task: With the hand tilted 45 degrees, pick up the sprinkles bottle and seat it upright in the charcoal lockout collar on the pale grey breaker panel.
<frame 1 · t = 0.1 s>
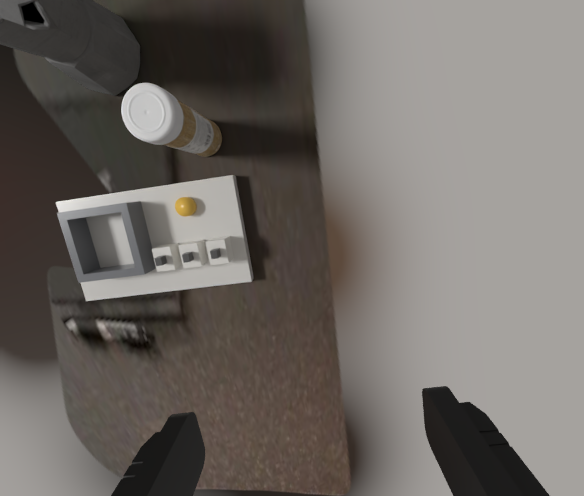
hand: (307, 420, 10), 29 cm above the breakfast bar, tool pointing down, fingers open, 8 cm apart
sprinkles bottle: (206, 139, 36), on the breakfast bar
coffeepot: (99, 50, 35), on the breakfast bar
breaker panel: (160, 240, 39), on the breakfast bar
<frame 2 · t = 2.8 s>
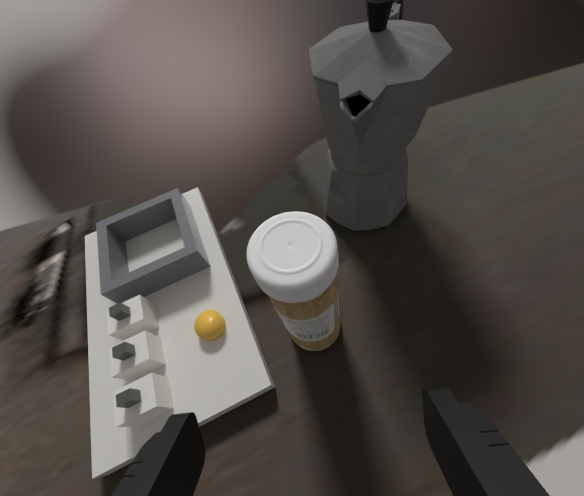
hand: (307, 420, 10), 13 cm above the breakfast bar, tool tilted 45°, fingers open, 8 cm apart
sprinkles bottle: (314, 326, 25), on the breakfast bar
coffeepot: (364, 193, 32), on the breakfast bar
breaker panel: (166, 300, 29), on the breakfast bar
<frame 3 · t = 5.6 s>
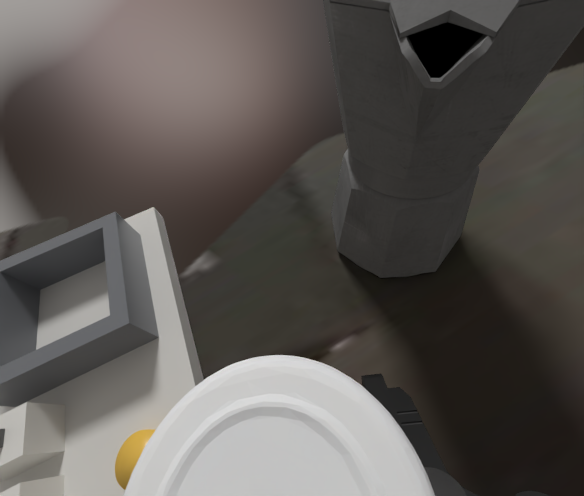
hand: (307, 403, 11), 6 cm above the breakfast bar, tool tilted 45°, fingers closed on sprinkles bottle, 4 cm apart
sprinkles bottle: (323, 452, 15), on the breakfast bar, touching gripper
coffeepot: (393, 216, 22), on the breakfast bar
breaker panel: (92, 389, 18), on the breakfast bar
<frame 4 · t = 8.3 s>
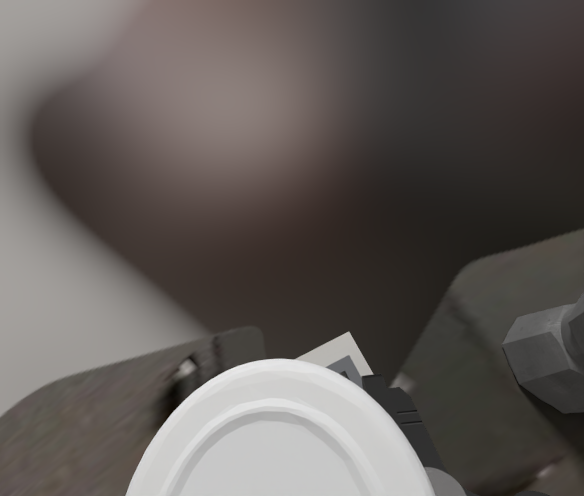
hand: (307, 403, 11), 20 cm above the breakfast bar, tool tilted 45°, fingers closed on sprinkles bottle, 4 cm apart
sprinkles bottle: (323, 453, 15), point 14 cm above the breakfast bar, touching gripper
coffeepot: (554, 349, 28), on the breakfast bar
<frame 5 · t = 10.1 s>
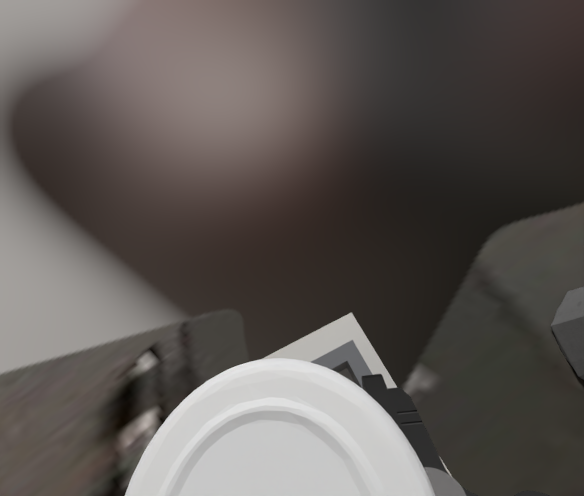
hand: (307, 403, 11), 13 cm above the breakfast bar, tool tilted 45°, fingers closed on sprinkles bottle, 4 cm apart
sprinkles bottle: (323, 453, 15), point 6 cm above the breakfast bar, touching gripper
when the fingers open (9 cm above the breakfast bar, at t = 11.4 s): sprinkles bottle drops 1 cm, resting on breaker panel.
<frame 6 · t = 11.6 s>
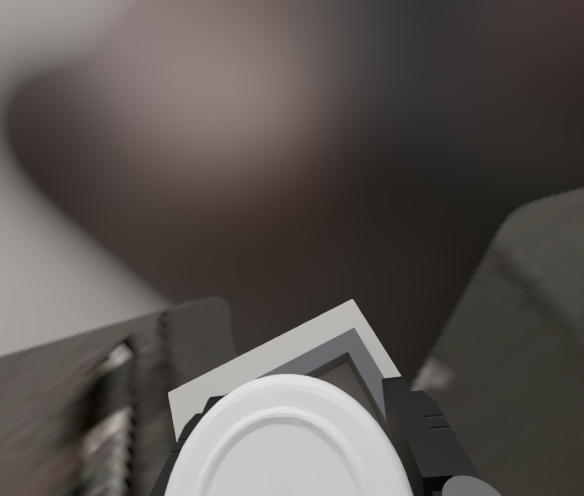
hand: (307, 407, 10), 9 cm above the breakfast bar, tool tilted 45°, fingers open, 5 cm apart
sprinkles bottle: (323, 456, 16), point 1 cm above the breakfast bar, touching breaker panel
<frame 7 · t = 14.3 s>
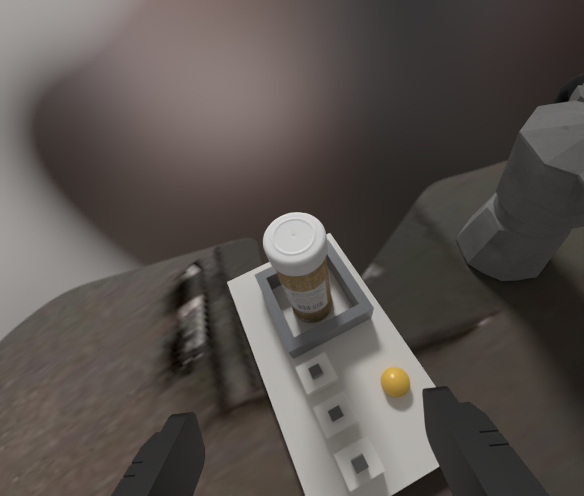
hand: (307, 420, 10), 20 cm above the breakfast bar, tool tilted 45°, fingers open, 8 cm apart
sprinkles bottle: (311, 304, 31), point 1 cm above the breakfast bar, touching breaker panel
coffeepot: (498, 240, 34), on the breakfast bar
breaker panel: (327, 350, 30), on the breakfast bar
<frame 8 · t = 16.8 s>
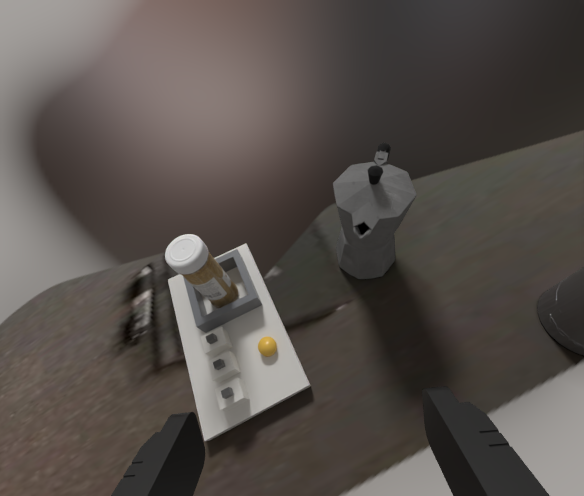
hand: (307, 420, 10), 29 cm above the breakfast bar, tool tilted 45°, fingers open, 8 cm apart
sprinkles bottle: (224, 295, 44), point 1 cm above the breakfast bar, touching breaker panel
coffeepot: (365, 249, 46), on the breakfast bar
breaker panel: (232, 327, 42), on the breakfast bar
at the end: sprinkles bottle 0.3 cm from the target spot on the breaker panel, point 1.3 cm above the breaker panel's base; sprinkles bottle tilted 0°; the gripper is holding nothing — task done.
